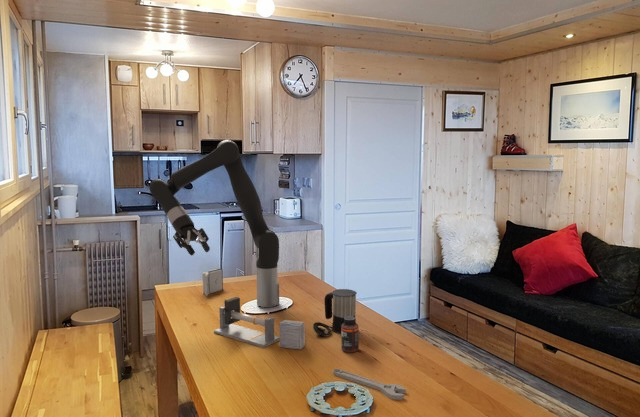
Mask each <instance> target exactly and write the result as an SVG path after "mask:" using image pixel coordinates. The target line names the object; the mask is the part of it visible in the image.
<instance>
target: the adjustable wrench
mask: <svg viewBox="0 0 640 417" xmlns="http://www.w3.org/2000/svg"><path fill="white" fill-rule="evenodd" d="M332 375H333V376H335V377H336V376H337V377H339V378H342V379H345V380H348V381H352V382H354V383H357V384H360V385H363V386H366V387H369V388H372V389H373V390H374V389H375V390H377V391H380V392H381V393H382V394H384V395H385V396H386V397H387V398H388V399H392V400H400V401H401V400H404V399H405V394H406V392H407V388H406V387H404V386H402V385H399V384H397V383H382V382H378V381H376V380H373V379H369V378H368V377H365V376H361V375H359V374H355V373H353V372H350V371H347V370H343V369H341V368H334V369H333V370H332Z"/></svg>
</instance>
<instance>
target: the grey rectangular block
mask: <svg viewBox="0 0 640 417" xmlns="http://www.w3.org/2000/svg"><path fill="white" fill-rule="evenodd" d="M201 274H202V294H203V295H205V297H208V296H209V295H210V294H212V293H216V292H219V291H223V290H224V280H223V279H224V276H223V268H222V269H221V268H214V269H211V270H207V271H204V272H202V273H201Z"/></svg>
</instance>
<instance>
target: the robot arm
mask: <svg viewBox="0 0 640 417" xmlns="http://www.w3.org/2000/svg"><path fill="white" fill-rule="evenodd" d="M220 167H224V168H225V170H226V172H227V174H228V177H229V181H230V186H231V188H232V192H233V195H234V197H235V201H237V204H238V206H239V208H240V211H241V213H242V215H243V217H244V219H245V221H246V222H247V224H248V227H249V229H250V233H251V236H252V240H253V244H254V245H255V247H256V248H257V249H258V258H257V260H256V261H255V262H256V263H255V264H256V266H255V267H256V268H255V269H256V270H255V271H256V272H255V273H256V305H258V306H257V307H259V306H261V307H260V308H264V307H269V308H274V307H277V306H280V284H279V282H278V274H279V273H278V263H279V258H280V238H279V236H278V235H277V234H276V233H275V232H273V231H272V230H270V228H269V227H268V225H267V223H266V221H265V219H264V215H263V210H262V204H261V199H260V196H259V194H258V192H257V190H256V187H255V184H254V182H253V181H252V180H251V178H250V176H249V173H248V171H247V170H246V169H245V167H244V164H243V161H242V158H241V154H240V149H239V146H238V145H237V143H236V142H235V141H233V140H231V139H224V140H222V141H220V142H219V143H218V144H217V147H216V148H214V149H213V150H212V151H211V152H209V153H208V154H207V155H205V156H203V157H201V158H200V159H199V158H198V159H197V160H195V161H193V162H191V163H189V164H186V165H185V166H183V167H181V168H179V169H177V170H176V171H174V172H172V173H171V175H170V179H169V180H168V181H167V182H166V181H165V180H164V179H160V178H154V179H152V181H151V182H150V184H149V187H148V188H149V191H150V192H149V193H151V196H153V198H154V199H155V200H156V201H157V203H158V204H159V205H160V207H161V208H162V210H163V212H164V214H165V216H167V219H168V221H169V223H170V224H171V226H172V228H173V230H175V233H174V235H173V236H172V238H173V240H174V241H175V242H176V244H177V246H178V248H180V249H182V248H184V249H185V250H186V251H187V253H188V254H189V255H190V256H194V254H195V253H196V252H195V249H194V248H193V247H192V245H191V244H190V242H195V243H198V244H200V245H201V247H202V249H203V250H204V252H206V253H208V252H210V250H211V249H210V248H211V247H210V246H209V244H208V243H207V242H208V241H209V240H210V238H209V237H208V235H207V233H206V231H205V230H204V228H200V229H197V228H196V227H195V223H194V222H193V220H192V218H191V217H190V215H189V213H188V212H187V211H186V209H184V207H183V206H182V204H181V202H180V201H179V200H178V198H177V197H176V196H175V195H176V194H177V193H178V192H179V191H180V190H181V189H183V187H186V186H187V185H189V184H191V183H192V182H194V181H196V180H197V179H199V178H201V177H202V176H204V175H206V174H207V173H209V172H212V171H213V170H216V169H218V168H220ZM276 305H277V306H276ZM273 306H274V307H273Z"/></svg>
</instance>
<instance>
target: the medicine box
mask: <svg viewBox="0 0 640 417" xmlns="http://www.w3.org/2000/svg"><path fill="white" fill-rule="evenodd" d="M305 331H306V330H305V322H304V321H298V320H289V319H284V320H283V321H281V322H280V323H279V337H280V340H279V347H280V348H285V349H286V348H287V349H293V350H294V349H295V350H299V351H300V350H302V349H303V348H304V347H305V345H306V343H305V341H306V339H305V338H306V337H305V336H306V332H305Z"/></svg>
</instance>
